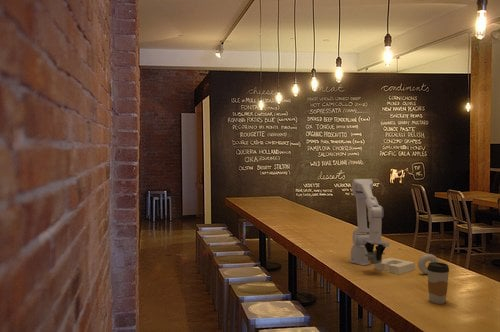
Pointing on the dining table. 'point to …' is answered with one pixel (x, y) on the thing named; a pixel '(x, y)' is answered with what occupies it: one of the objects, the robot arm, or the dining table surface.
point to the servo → (373, 257)
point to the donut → (423, 260)
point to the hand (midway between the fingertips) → (374, 259)
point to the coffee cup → (437, 282)
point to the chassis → (395, 265)
